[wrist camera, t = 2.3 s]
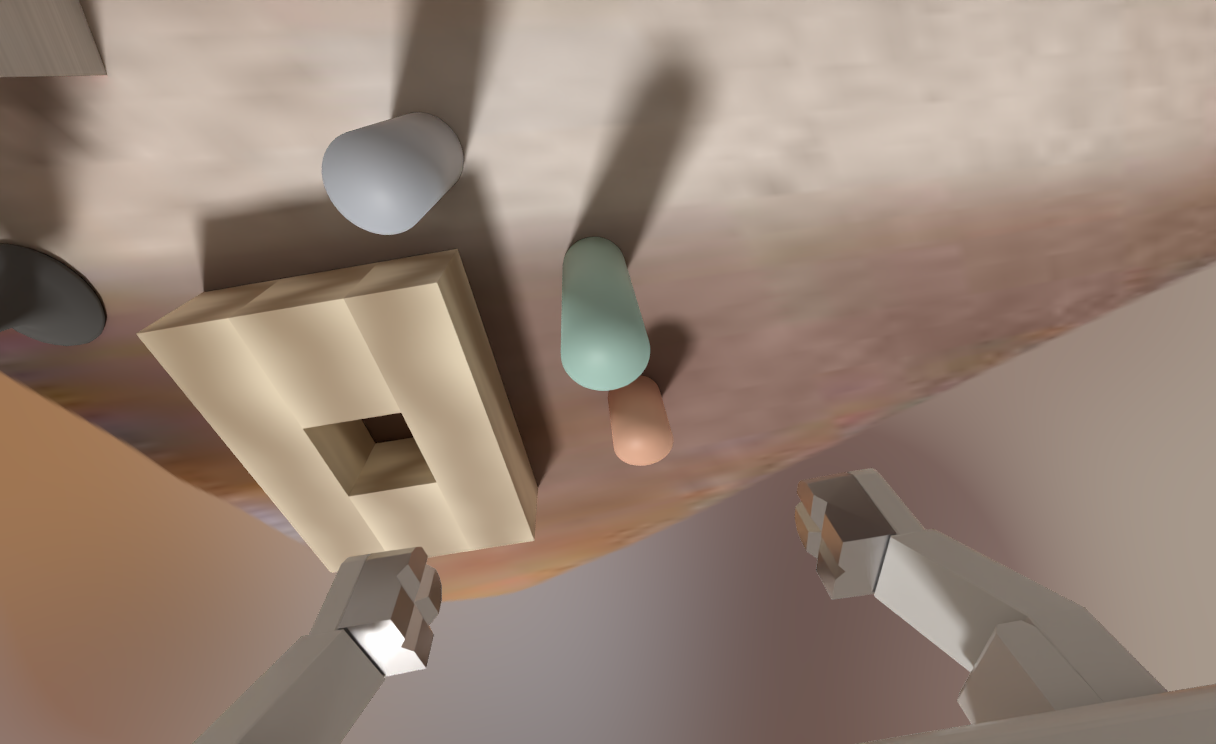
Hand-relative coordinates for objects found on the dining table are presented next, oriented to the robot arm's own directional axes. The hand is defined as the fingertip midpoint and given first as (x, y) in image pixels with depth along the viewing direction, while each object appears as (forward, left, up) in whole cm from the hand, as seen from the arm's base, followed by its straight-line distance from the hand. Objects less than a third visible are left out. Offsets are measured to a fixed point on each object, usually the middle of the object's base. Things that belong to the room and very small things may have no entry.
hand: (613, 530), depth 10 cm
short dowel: (-1, +8, -15) cm, 17 cm away
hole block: (+12, +6, -15) cm, 20 cm away
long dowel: (0, 0, -15) cm, 15 cm away
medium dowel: (+6, -6, -15) cm, 17 cm away
